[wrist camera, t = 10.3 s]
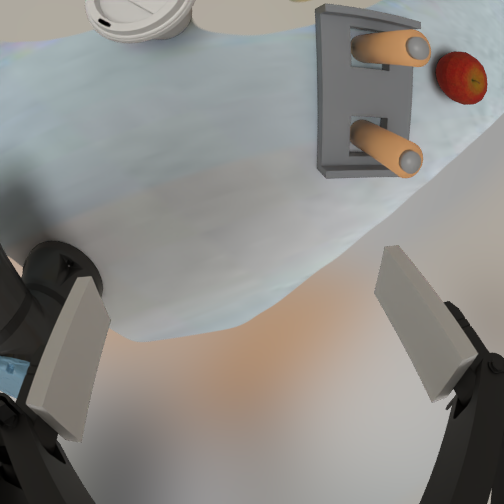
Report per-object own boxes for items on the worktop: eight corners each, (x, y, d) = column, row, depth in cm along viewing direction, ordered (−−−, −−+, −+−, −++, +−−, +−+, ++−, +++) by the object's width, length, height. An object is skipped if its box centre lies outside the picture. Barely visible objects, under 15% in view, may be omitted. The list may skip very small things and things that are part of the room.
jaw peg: (349, 119, 37) (398, 143, 26) (375, 120, 37) (429, 145, 26) (348, 147, 39) (393, 181, 28) (373, 147, 39) (424, 181, 29)
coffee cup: (113, 11, 26) (59, -13, 13) (182, -30, 24) (162, -79, 11) (149, 65, 31) (108, 65, 18) (219, 25, 29) (219, -2, 16)
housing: (316, 168, 40) (352, 209, 30) (314, 9, 28) (356, -13, 18) (398, 167, 41) (448, 204, 31) (404, 23, 29) (465, 19, 18)
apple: (469, 74, 33) (503, 82, 26) (448, 108, 36) (481, 120, 30) (440, 40, 30) (475, 42, 24) (417, 76, 33) (451, 82, 27)
